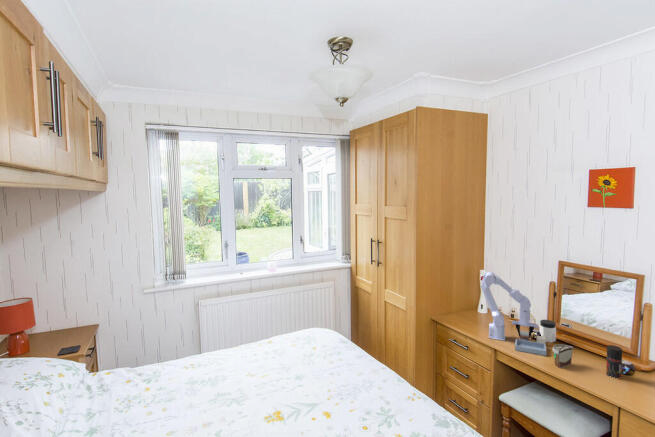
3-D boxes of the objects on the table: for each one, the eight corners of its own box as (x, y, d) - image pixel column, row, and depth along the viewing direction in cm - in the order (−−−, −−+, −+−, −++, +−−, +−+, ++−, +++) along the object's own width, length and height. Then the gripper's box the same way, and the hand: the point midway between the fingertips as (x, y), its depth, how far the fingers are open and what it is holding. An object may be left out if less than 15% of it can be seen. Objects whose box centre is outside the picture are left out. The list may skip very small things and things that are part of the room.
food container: (561, 358, 192) (562, 342, 191) (572, 363, 186) (573, 346, 185) (546, 363, 187) (547, 346, 187) (557, 368, 182) (558, 351, 181)
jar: (549, 343, 210) (550, 325, 210) (537, 338, 218) (537, 321, 217) (558, 340, 214) (558, 322, 214) (545, 335, 222) (545, 318, 221)
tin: (520, 339, 214) (520, 333, 214) (520, 336, 218) (520, 330, 218) (528, 341, 212) (528, 334, 211) (528, 338, 216) (528, 331, 215)
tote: (515, 350, 203) (515, 345, 203) (515, 343, 213) (515, 338, 213) (546, 356, 195) (546, 351, 195) (545, 348, 205) (545, 343, 204)
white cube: (536, 345, 210) (537, 338, 209) (536, 342, 214) (536, 335, 213) (545, 346, 207) (545, 339, 207) (544, 343, 211) (545, 336, 211)
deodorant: (619, 379, 169) (620, 351, 168) (604, 375, 174) (605, 347, 173) (622, 375, 173) (623, 348, 171) (608, 371, 177) (609, 344, 176)
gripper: (511, 316, 214) (511, 336, 215) (538, 320, 207) (537, 341, 208) (512, 313, 220) (511, 332, 221) (537, 316, 213) (537, 337, 214)
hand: (524, 336), depth 215 cm, fingers closed on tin, 5 cm apart
